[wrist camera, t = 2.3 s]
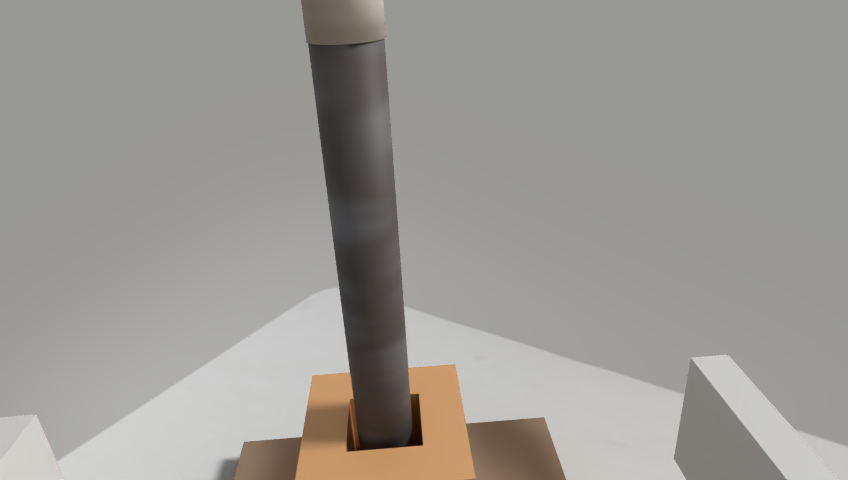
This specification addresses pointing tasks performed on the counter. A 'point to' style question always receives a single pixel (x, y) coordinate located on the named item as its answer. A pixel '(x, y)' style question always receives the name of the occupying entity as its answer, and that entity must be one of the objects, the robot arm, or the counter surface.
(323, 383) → the sleeve
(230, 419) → the counter surface
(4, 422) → the robot arm
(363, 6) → the stand
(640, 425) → the counter surface
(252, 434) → the counter surface
